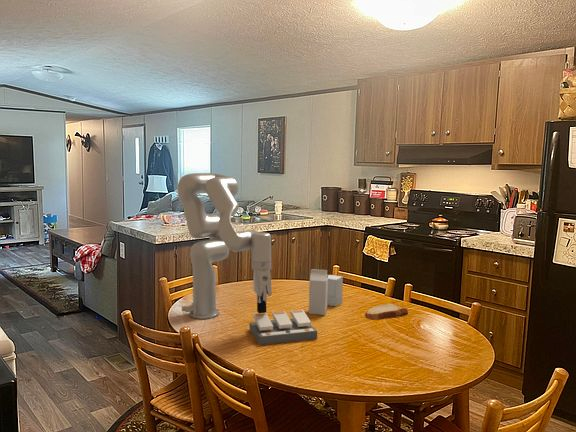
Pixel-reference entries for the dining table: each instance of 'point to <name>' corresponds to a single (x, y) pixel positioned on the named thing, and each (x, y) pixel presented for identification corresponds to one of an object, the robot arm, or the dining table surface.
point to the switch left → (263, 321)
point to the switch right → (300, 317)
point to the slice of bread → (385, 311)
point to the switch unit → (282, 333)
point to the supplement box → (334, 290)
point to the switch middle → (282, 319)
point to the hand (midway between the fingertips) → (261, 312)
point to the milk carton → (318, 292)
